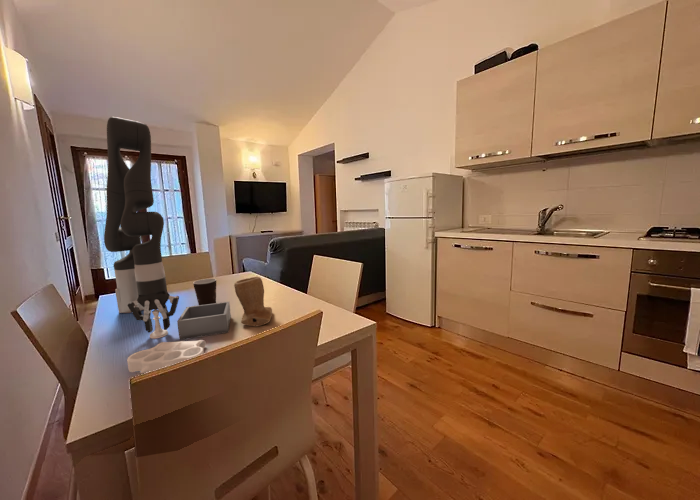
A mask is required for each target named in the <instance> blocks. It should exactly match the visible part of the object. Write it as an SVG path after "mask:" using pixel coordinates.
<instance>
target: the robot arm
mask: <svg viewBox="0 0 700 500" xmlns="http://www.w3.org/2000/svg"><path fill="white" fill-rule="evenodd" d="M106 143H107V175H106V176H107V177H106V219H105V227H104V234H103V242H104V247H105V249H106V250H107V251H108V252H111V253H118V252H119V253H120V252H127V251H129V253H128V254H127V255H125V256H124V257H121V258H120V259H118V260H116V261H114V263H113V270H114V275H115V282H116V288H115V290H114V291H115V297H116V303H117V309H118V314H120V313H121V314H122V313H123V314H130V313H132V315H133V317H134V319H135V320H136V321H137V322H139V321H142V322H143V324H144V329H145V331H146V332H147V333H153V332H152V331H154V328H153V319H152V318H151V314H152V311H153V310H154V309H157V310H159V314H161V317H162V324H163V330H167V331H168V329H169V328H170V327H171V320H170V317H173V316H174V315H175V313H176V312H177V311H176V310H177V307H178V303H179V300H180V296H179V295H176V296H175V295H170V294H169V292H168V286H167V279H166V273H165V272H166V271H165V267H164V263H163V257H162V248H161V247H162V243H161V242H162V235H163V230H164V227H165V225H164V224H165V220H164V218H163V215H161V213H159V212H157V211H141V210H145V209H148V208H151V207H152V206H153V205H154V202H155V200H154V193H153V186H152V185H153V184H152V174H151V173H152V137H151V130H150V128H149V126H148V124H146V123H144V122H140V121H136V120H132V119H127V118H123V117H118V116H110V117H109V118H108V119H107V122H106ZM121 149H123V150H128V151H130V150H131V151H136V152H139V155H138V157H137V159H136V161H135V163H133V165H132V166H131V167H130V168H129V167H128V165H127V164H126V162H125V160H124V158H123V156H122V153H121ZM143 236H151V238H150V239H149V240H148V241H145V242H142V241H141V239H142V237H143ZM168 300H169V303H170V304H171V306H170V309H169V310H168V306H167V302H168ZM142 311H143V313H142Z"/></svg>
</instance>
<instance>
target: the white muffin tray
mask: <svg viewBox="0 0 700 500" xmlns="http://www.w3.org/2000/svg"><path fill="white" fill-rule="evenodd" d="M205 347H206V340H203V339H199V340H188V341H187V340H186V341H185V340H179V341H168V342H167V341H161V342H159V343H158V344H156V345H155V346H153V347H150V348H147V349H143V350H140V351H137V352H134V353H132V354H130V355H129V356H128V357H127V360H126V362H127V367H128V368H127V369H128V372H129V373H136V372H135V371H141V372H139V373H140V374H143V373H146V372H149V371H153V370H156V369H159V368H162V367H165V366H169V365H172V364H175V363H178V362H181V361H184V360H187V359H190V358H193V357H196V356H198V355H201V354H204V353H205V352H204V349H205ZM204 355H205V354H204Z"/></svg>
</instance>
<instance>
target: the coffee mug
mask: <svg viewBox="0 0 700 500" xmlns="http://www.w3.org/2000/svg"><path fill="white" fill-rule="evenodd" d="M192 284H193V288H194V292H195V296H196V300H197V304H198V305H206V304H214V303H217V279H216V278H202V279H198V280H195V281H193V282H192Z"/></svg>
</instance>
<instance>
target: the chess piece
mask: <svg viewBox="0 0 700 500" xmlns="http://www.w3.org/2000/svg"><path fill="white" fill-rule="evenodd" d="M151 314H152V315H153V318H152V321H154V324H155V325H154V330H153V332H150V334H149V338H150V339H159V338H163V337H165V336H167V335H169V331H168V329H167V330H164V328H162V327H161V323H160V320H161V317H162V316H159V315H160V312H159V310H158V309H153V310H152V311H151Z"/></svg>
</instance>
